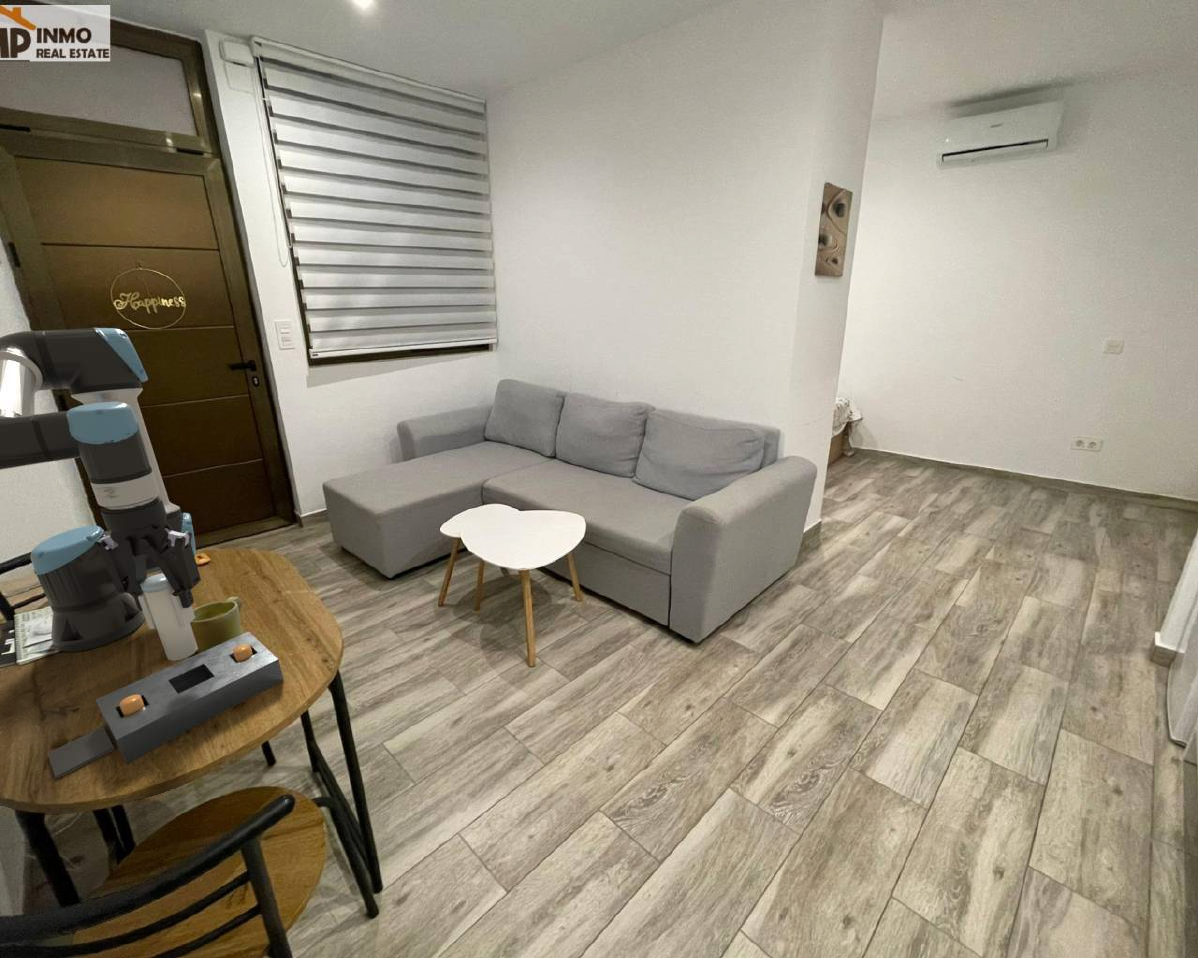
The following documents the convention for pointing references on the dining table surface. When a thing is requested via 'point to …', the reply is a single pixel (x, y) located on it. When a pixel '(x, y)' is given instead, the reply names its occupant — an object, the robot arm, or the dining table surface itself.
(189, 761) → the dining table surface
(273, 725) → the dining table surface
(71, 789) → the dining table surface
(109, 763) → the dining table surface
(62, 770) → the mat
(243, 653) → the orange egg shape
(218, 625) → the mug
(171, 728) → the housing
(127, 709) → the plunger near
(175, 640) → the cartridge
